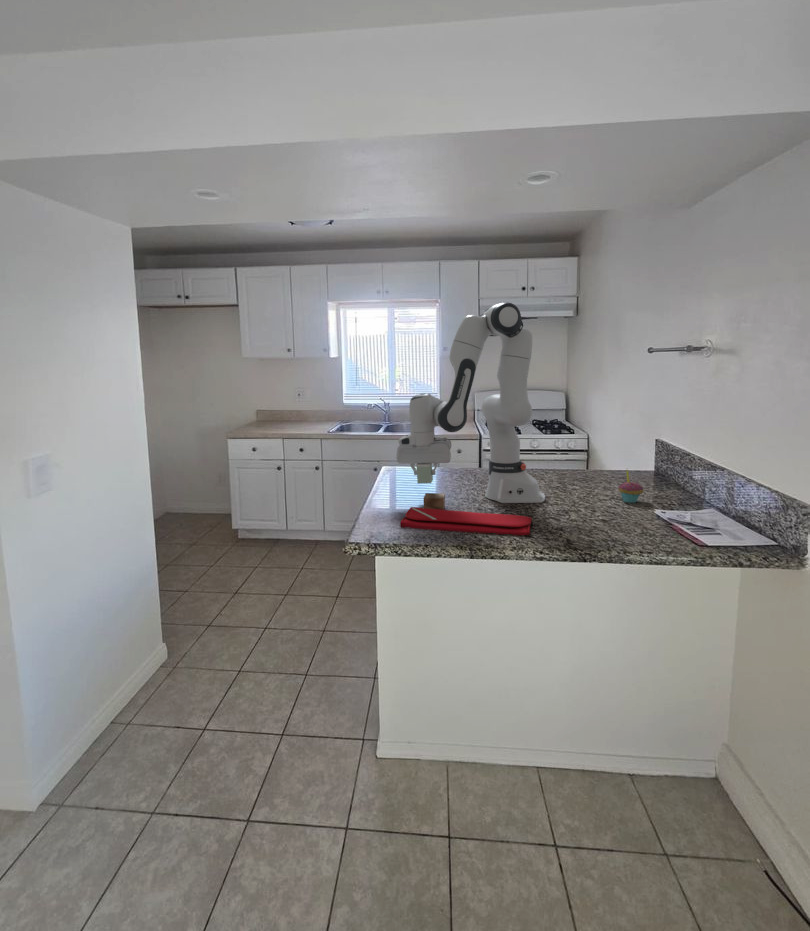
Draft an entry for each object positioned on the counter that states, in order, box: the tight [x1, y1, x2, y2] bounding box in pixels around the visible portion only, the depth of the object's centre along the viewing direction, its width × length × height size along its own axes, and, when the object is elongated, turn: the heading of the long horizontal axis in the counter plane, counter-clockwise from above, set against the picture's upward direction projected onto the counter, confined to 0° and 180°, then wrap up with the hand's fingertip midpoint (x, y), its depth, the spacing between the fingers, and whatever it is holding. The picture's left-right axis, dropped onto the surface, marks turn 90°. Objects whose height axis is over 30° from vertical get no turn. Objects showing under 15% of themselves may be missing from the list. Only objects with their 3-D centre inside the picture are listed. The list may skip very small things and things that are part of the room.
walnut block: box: [423, 492, 446, 510], centre depth 199 cm, size 7×7×5 cm
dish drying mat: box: [399, 506, 533, 536], centre depth 181 cm, size 16×41×4 cm, turn 76°
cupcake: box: [618, 469, 644, 504], centre depth 204 cm, size 9×8×12 cm
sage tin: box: [415, 463, 434, 484], centre depth 207 cm, size 5×5×7 cm
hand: (424, 474), depth 207 cm, fingers closed on sage tin, 5 cm apart
